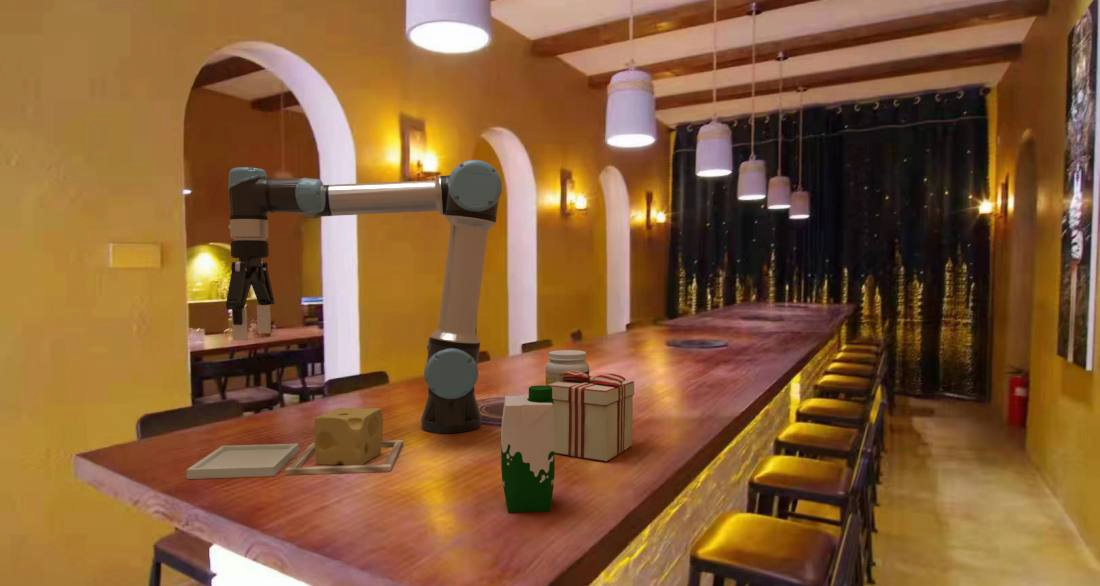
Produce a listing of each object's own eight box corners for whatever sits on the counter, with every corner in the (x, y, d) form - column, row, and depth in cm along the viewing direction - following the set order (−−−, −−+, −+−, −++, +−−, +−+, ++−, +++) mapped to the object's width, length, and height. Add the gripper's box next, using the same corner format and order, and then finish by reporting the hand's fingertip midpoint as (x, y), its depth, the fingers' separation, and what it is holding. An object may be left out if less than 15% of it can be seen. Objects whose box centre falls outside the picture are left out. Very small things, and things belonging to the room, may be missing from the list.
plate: (298, 451, 137) (298, 443, 137) (273, 476, 121) (273, 467, 121) (222, 454, 135) (222, 445, 135) (186, 479, 119) (186, 469, 119)
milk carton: (556, 513, 103) (556, 392, 102) (501, 515, 102) (501, 393, 101) (552, 493, 111) (552, 382, 110) (501, 495, 111) (500, 383, 110)
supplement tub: (590, 418, 166) (590, 355, 166) (544, 418, 167) (544, 355, 166) (588, 408, 179) (588, 349, 178) (545, 408, 179) (545, 349, 178)
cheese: (360, 468, 126) (359, 419, 125) (311, 465, 128) (311, 416, 127) (384, 453, 136) (383, 407, 136) (338, 450, 138) (338, 405, 138)
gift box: (639, 441, 145) (639, 367, 144) (612, 464, 128) (613, 381, 127) (571, 433, 152) (571, 362, 151) (538, 454, 135) (538, 374, 134)
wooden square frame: (403, 444, 142) (403, 440, 142) (390, 471, 123) (390, 466, 123) (312, 446, 140) (312, 442, 140) (285, 475, 121) (285, 469, 121)
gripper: (253, 242, 149) (257, 331, 150) (205, 237, 124) (209, 344, 125) (286, 241, 149) (289, 330, 150) (244, 237, 125) (248, 343, 126)
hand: (252, 336), depth 138 cm, fingers open, 13 cm apart
